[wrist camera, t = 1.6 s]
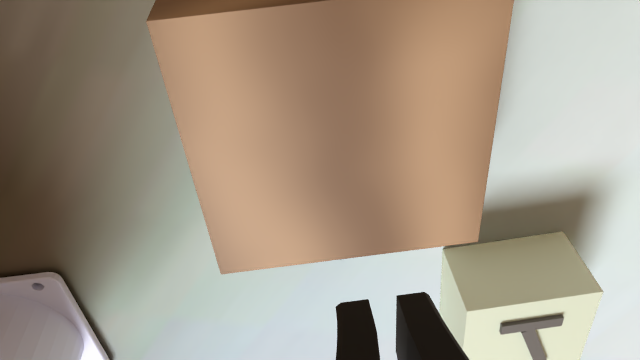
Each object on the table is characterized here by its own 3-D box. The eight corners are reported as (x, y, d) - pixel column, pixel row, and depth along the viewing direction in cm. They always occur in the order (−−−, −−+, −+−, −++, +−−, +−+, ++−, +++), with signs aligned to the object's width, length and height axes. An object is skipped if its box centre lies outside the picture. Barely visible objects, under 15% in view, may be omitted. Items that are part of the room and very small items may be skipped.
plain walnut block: (226, 206, 23) (220, 274, 20) (166, -25, 17) (146, 21, 14) (448, 178, 23) (477, 241, 20) (469, -59, 17) (516, -22, 14)
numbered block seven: (438, 320, 30) (460, 389, 26) (441, 246, 26) (468, 315, 23) (542, 305, 30) (578, 372, 26) (561, 228, 26) (605, 295, 23)
